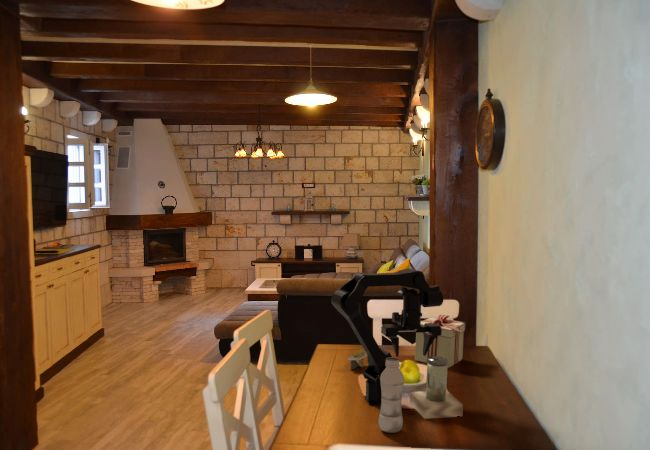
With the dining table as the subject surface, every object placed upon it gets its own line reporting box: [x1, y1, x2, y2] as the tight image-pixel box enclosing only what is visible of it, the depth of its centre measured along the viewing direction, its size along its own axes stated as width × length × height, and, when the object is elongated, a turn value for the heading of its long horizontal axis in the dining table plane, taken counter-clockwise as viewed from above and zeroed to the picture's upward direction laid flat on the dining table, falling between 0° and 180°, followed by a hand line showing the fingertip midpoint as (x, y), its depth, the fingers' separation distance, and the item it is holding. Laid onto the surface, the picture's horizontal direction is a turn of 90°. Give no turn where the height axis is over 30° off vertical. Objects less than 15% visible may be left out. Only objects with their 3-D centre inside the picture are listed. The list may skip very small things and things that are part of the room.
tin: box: [425, 356, 448, 402], centre depth 163 cm, size 6×6×12 cm
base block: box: [409, 389, 464, 420], centre depth 163 cm, size 12×12×4 cm
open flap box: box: [347, 349, 367, 371], centre depth 201 cm, size 12×18×7 cm, turn 147°
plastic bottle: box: [377, 356, 405, 434], centre depth 147 cm, size 6×7×20 cm
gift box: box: [414, 314, 467, 369], centre depth 212 cm, size 17×18×17 cm
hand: (410, 356), depth 174 cm, fingers open, 9 cm apart
